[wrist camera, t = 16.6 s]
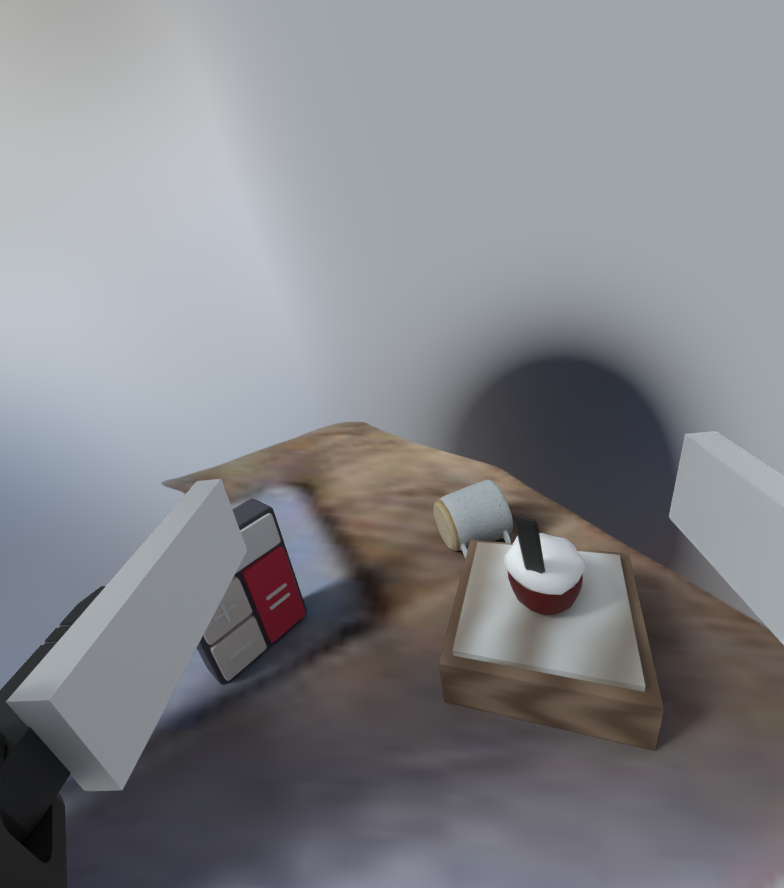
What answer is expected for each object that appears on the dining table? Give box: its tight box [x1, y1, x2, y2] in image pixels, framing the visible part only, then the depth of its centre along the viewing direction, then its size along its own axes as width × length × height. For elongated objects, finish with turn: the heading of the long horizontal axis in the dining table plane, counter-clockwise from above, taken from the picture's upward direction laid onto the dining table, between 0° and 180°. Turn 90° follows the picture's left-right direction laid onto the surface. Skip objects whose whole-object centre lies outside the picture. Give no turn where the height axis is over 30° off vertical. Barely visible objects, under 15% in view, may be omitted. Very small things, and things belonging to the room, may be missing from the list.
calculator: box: [197, 499, 306, 684], centre depth 43 cm, size 11×4×15 cm, turn 139°
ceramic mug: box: [434, 480, 513, 558], centre depth 53 cm, size 11×8×8 cm
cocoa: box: [504, 517, 586, 615], centre depth 36 cm, size 10×6×12 cm, turn 125°
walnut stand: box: [439, 540, 664, 751], centre depth 39 cm, size 16×16×6 cm
